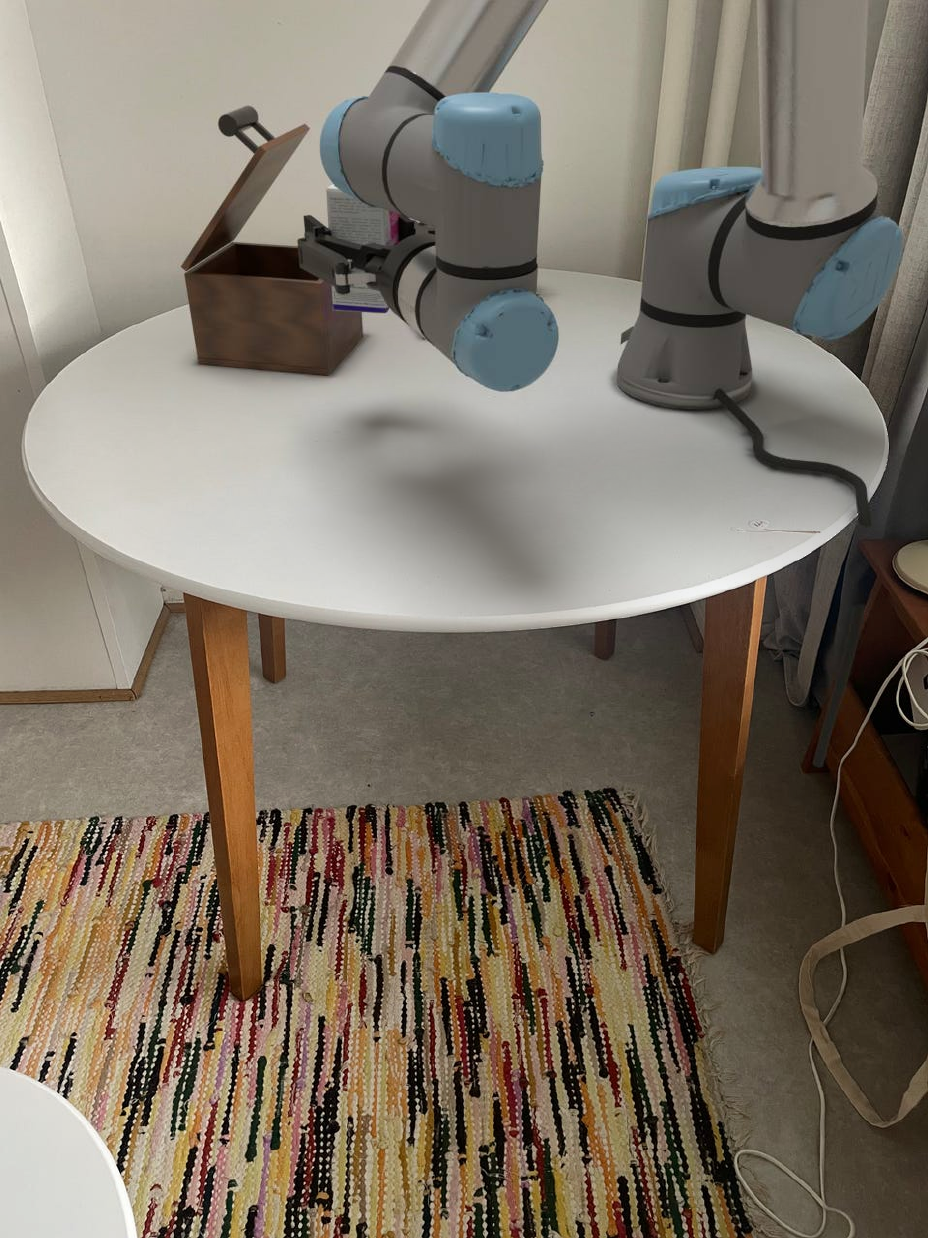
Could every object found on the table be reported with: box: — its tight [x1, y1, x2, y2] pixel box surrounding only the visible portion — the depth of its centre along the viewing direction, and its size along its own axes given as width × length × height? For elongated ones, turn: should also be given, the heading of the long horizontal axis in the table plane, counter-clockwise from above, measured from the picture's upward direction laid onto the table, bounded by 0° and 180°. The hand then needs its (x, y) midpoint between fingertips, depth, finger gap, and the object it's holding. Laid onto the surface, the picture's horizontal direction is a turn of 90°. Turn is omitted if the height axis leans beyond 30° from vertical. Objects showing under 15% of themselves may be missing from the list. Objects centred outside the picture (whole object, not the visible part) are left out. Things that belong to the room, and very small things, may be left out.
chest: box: [183, 241, 364, 376], centre depth 121 cm, size 17×14×11 cm
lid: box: [180, 105, 311, 272], centre depth 114 cm, size 17×14×6 cm
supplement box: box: [325, 183, 399, 314], centre depth 98 cm, size 6×6×12 cm
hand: (348, 224), depth 101 cm, fingers closed on supplement box, 8 cm apart
